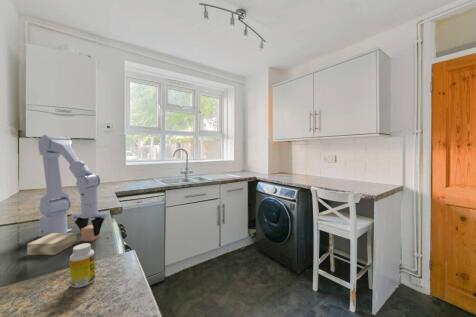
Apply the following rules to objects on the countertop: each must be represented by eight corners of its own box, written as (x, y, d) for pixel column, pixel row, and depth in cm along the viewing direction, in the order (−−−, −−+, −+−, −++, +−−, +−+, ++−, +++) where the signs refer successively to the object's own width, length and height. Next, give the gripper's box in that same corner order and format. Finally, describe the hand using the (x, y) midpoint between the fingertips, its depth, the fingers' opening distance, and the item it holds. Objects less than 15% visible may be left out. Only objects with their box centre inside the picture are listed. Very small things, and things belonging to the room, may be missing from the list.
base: (27, 254, 76) (26, 243, 76) (52, 242, 86) (52, 233, 86) (54, 254, 76) (53, 243, 76) (76, 242, 86) (76, 232, 86)
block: (81, 240, 88) (81, 228, 88) (89, 236, 92) (89, 225, 92) (92, 240, 88) (91, 228, 88) (100, 236, 92) (99, 224, 92)
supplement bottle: (93, 284, 58) (92, 247, 58) (68, 291, 56) (66, 252, 55) (97, 274, 63) (95, 240, 63) (73, 279, 61) (72, 244, 60)
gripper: (64, 205, 86) (66, 239, 86) (99, 205, 85) (101, 238, 86) (78, 201, 93) (79, 232, 93) (110, 201, 92) (112, 232, 93)
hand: (90, 235), depth 90 cm, fingers closed on block, 5 cm apart
